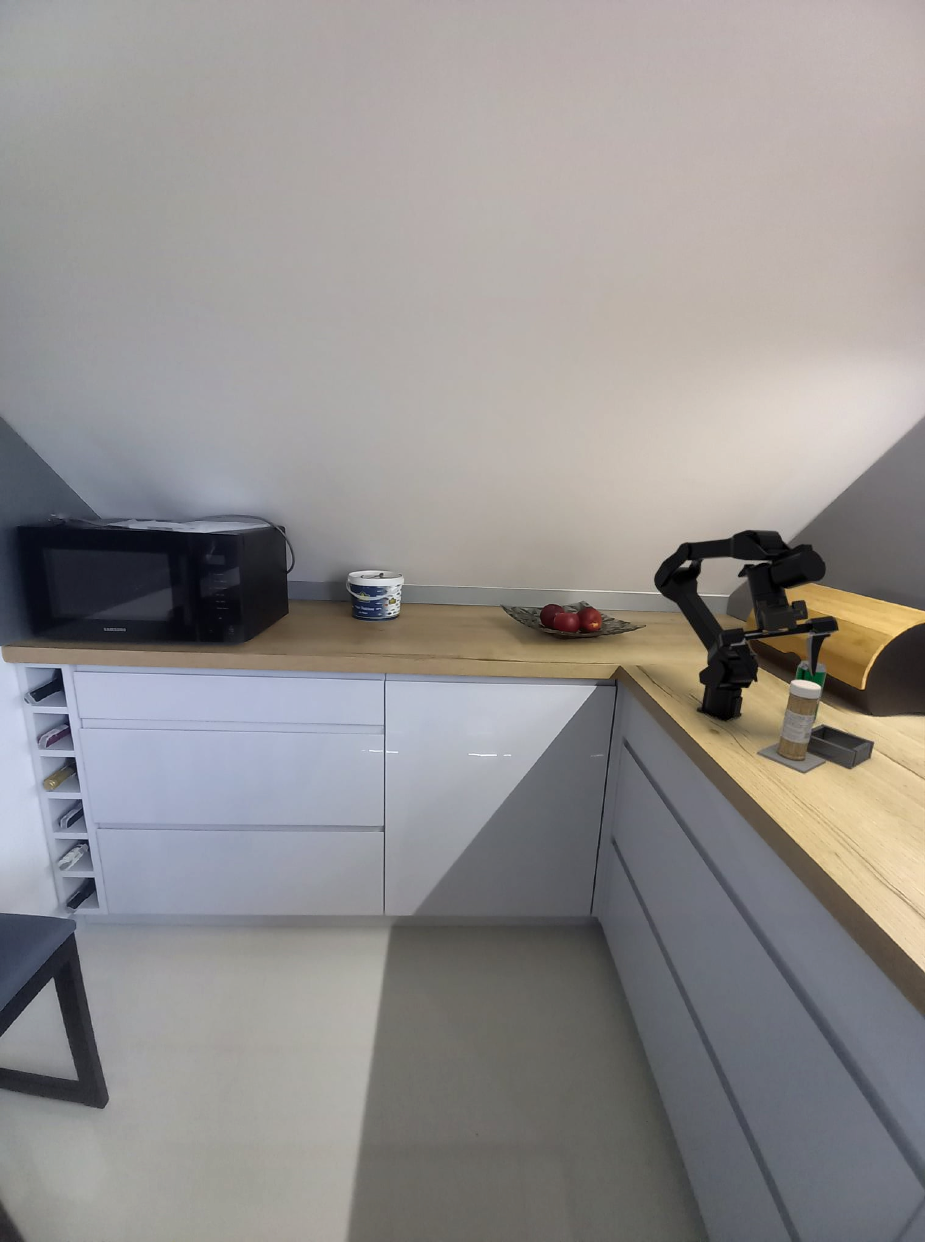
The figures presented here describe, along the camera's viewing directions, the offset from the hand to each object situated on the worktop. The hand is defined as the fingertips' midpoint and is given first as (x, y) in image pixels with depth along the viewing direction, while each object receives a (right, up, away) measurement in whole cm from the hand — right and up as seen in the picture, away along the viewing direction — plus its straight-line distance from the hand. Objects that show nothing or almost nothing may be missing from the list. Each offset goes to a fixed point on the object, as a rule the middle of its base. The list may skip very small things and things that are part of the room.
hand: (784, 679), depth 103 cm
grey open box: (+9, -13, 0) cm, 16 cm away
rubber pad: (0, -14, -3) cm, 14 cm away
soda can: (+12, -10, +15) cm, 22 cm away
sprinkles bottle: (-1, -13, -3) cm, 14 cm away
